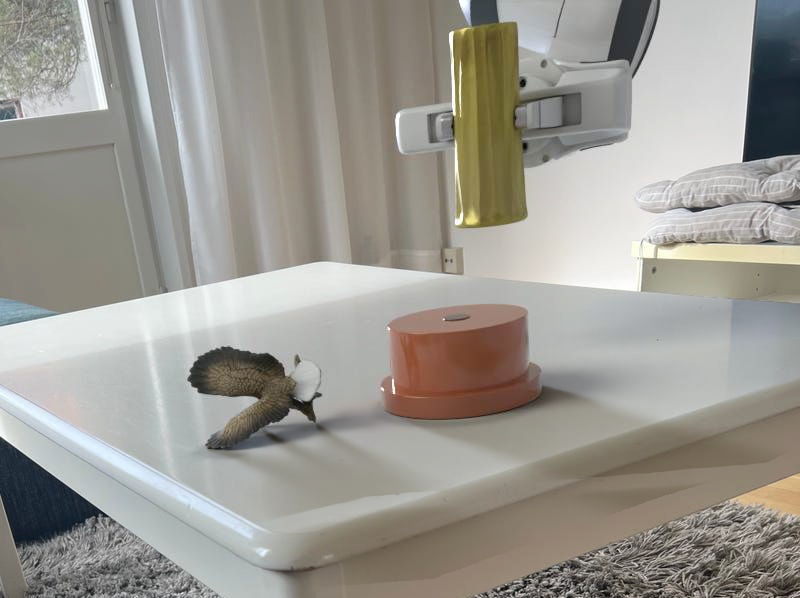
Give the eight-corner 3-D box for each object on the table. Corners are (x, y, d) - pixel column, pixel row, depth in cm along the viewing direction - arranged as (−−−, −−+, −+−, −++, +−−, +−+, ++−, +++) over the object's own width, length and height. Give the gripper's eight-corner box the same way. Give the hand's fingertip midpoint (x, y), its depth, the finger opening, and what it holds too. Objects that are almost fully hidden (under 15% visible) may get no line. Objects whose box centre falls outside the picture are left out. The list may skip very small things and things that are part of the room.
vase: (535, 220, 80) (531, 17, 73) (462, 231, 80) (451, 29, 74) (517, 215, 85) (512, 25, 79) (449, 225, 85) (437, 36, 79)
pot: (532, 370, 81) (531, 294, 78) (550, 409, 70) (549, 323, 67) (384, 385, 83) (377, 311, 80) (379, 425, 72) (371, 341, 69)
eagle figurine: (285, 394, 79) (179, 397, 75) (309, 322, 73) (196, 321, 70) (318, 462, 75) (208, 469, 71) (346, 391, 70) (229, 394, 66)
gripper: (425, 90, 92) (363, 96, 82) (648, 56, 83) (610, 57, 72) (430, 164, 95) (371, 178, 85) (646, 138, 86) (609, 151, 75)
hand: (483, 122), depth 79 cm, fingers closed on vase, 5 cm apart
